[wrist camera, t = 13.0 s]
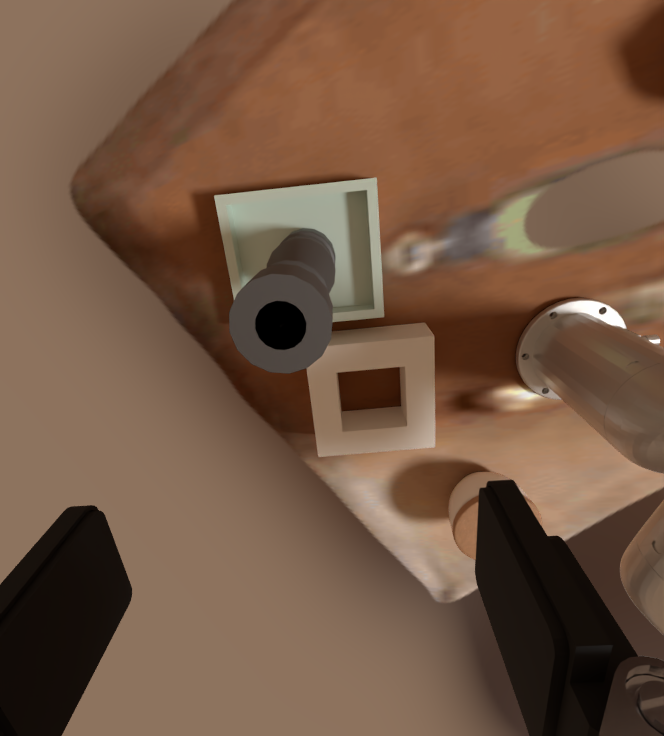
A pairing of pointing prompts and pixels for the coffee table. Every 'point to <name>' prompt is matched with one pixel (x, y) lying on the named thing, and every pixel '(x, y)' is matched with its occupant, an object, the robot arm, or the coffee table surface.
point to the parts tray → (314, 211)
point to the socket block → (377, 425)
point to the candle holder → (287, 305)
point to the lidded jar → (473, 509)
